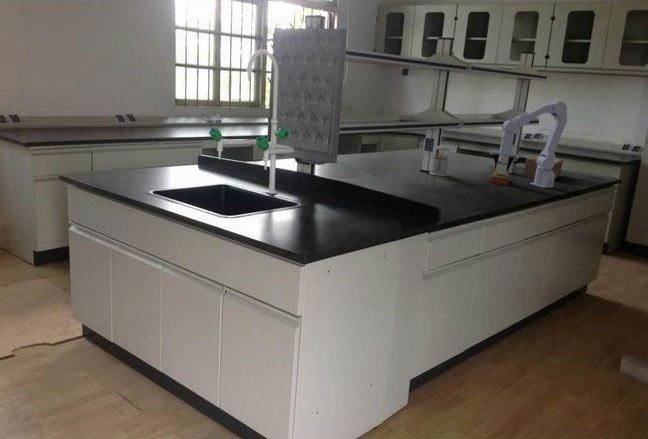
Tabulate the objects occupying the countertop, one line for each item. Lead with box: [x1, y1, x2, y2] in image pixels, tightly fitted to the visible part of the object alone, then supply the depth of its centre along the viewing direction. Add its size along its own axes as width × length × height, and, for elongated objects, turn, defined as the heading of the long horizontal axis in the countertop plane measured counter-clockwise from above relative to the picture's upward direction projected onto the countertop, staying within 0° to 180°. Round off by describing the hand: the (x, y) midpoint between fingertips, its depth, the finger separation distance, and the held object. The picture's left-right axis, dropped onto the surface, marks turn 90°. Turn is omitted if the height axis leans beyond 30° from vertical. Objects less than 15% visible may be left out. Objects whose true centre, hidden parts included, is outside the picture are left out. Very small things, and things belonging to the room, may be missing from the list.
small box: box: [499, 154, 515, 174], centre depth 336 cm, size 8×6×10 cm
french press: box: [428, 132, 451, 177], centre depth 304 cm, size 10×12×25 cm
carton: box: [490, 171, 510, 187], centre depth 303 cm, size 8×16×4 cm, turn 162°
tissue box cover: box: [523, 155, 564, 179], centre depth 335 cm, size 26×14×10 cm, turn 147°
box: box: [494, 161, 508, 175], centre depth 302 cm, size 5×5×6 cm
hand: (501, 169), depth 302 cm, fingers closed on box, 5 cm apart
